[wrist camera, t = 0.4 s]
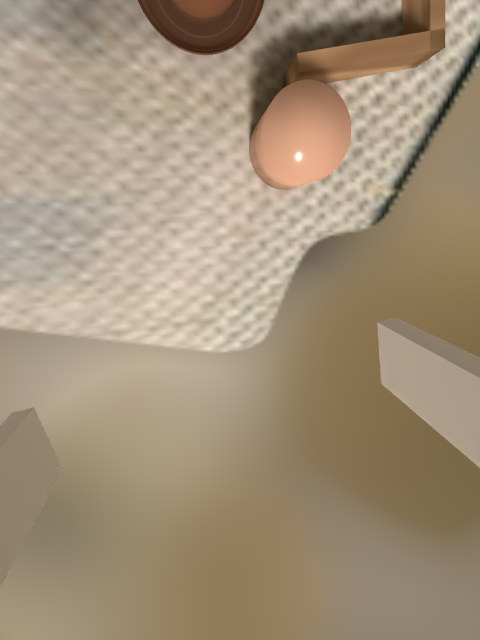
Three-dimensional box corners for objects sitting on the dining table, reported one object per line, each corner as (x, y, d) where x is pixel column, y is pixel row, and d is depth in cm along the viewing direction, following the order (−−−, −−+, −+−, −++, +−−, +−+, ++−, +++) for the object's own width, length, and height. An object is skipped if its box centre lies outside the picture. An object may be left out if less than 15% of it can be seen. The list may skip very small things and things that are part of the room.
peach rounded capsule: (242, 115, 33) (255, 88, 27) (316, 101, 34) (346, 72, 27) (256, 196, 36) (271, 189, 29) (324, 182, 36) (354, 172, 30)
